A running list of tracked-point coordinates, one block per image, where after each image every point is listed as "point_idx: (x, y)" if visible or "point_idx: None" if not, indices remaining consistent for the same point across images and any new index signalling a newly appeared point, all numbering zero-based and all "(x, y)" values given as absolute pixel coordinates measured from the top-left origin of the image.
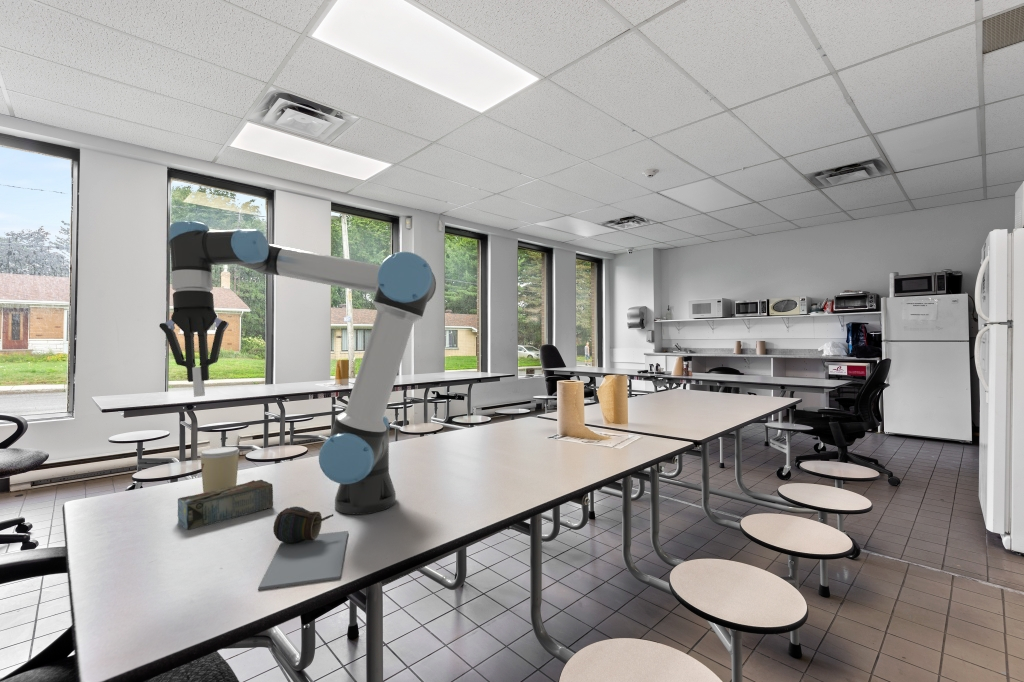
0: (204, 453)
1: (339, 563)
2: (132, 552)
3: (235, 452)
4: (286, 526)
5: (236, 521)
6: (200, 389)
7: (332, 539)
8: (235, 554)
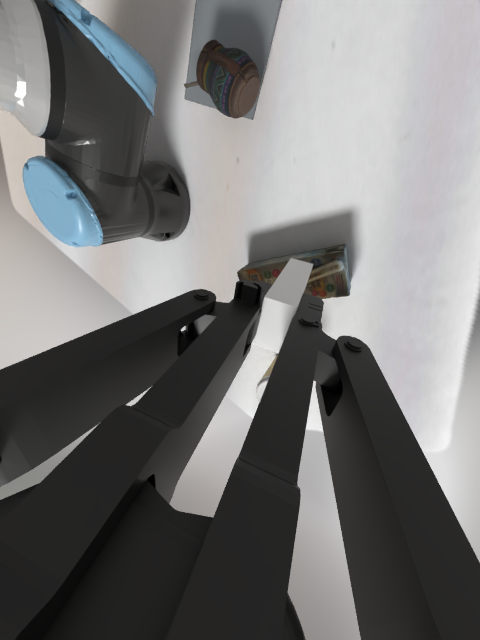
0: None
1: None
2: (420, 195)
3: (261, 381)
4: (241, 50)
5: (290, 238)
6: (289, 266)
7: None
8: (309, 97)
